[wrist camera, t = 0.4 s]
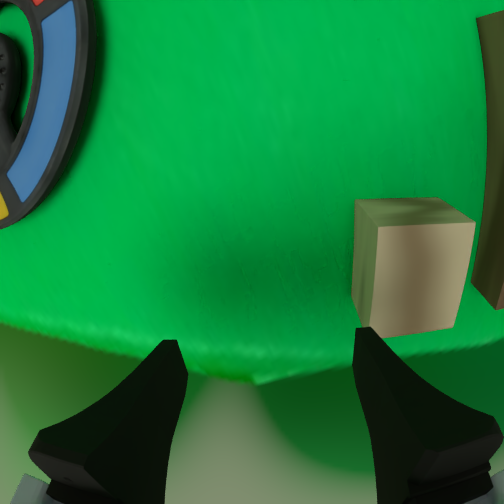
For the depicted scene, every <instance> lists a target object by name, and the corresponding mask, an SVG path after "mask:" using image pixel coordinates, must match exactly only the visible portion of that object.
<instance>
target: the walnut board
mask: <svg viewBox="0 0 504 504" xmlns="http://www.w3.org/2000/svg"><path fill="white" fill-rule="evenodd" d="M476 20H477V26H478V31H479V37H480V43H481V50H482V57H483V65H484V75H485V86H486V101H487V169H486V185H485V196H484V206H483V215H482V223H481V230H480V236H479V243H478V249H477V254H476V260H475V265H474V270H473V274H472V279H471V283H472V284H473V285H474V287H475V288H476V289H477V290H478V291H479V292H480V293H481V294H482V295H483V297H484V298H485V299H486V300H487V301H488V302H489V303H490V305H491V306H492V307H493V308H494V309H495V310H499V309H503V308H504V10H502V11H499V12H495V13H492V14H488V15H485V16H482V17H479V18H476Z"/></svg>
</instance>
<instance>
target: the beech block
mask: <svg viewBox="0 0 504 504" xmlns="http://www.w3.org/2000/svg"><path fill="white" fill-rule="evenodd" d="M475 224H476V222H474V221H473V220H471V219H470V218H468V217H467V216H466V215H464V214H463V213H461V212H460V211H458V210H457V209H455V208H454V207H452V206H450V205H449V204H447V203H446V202H444V201H443V200H441V199H439V198H438V197H433V198H386V199H358V200H355V221H354V255H353V276H352V292H351V297H352V299H353V302H354V305H355V307H356V310H357V313H358V316H359V318H360V321H361V324H362V327H370V326H371V327H372V328H373V329H374V330H375V332H376V333H377V334H378V335H379V336H380V337H381V338H387V337H394V336H402V335H409V334H415V333H422V332H428V331H434V330H440V329H446V328H452V327H453V326H454V322H455V319H456V315H457V311H458V308H459V304H460V300H461V296H462V292H463V288H464V283H465V279H466V274H467V270H468V265H469V260H470V254H471V249H472V243H473V237H474V231H475Z"/></svg>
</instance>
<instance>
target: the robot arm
mask: <svg viewBox="0 0 504 504" xmlns="http://www.w3.org/2000/svg"><path fill="white" fill-rule="evenodd" d="M352 366H353V372H354V378H355V384H356V388H357V392H358V395H359V399H360V402H361V405H362V409H363V412H364V415H365V419H366V422H367V426H368V429H369V433H370V438H371V445H372V451H373V458H374V466H375V476H376V488H377V504H504V470H502V471H500V472H498V473H496V474H495V475H493V476H492V477H490V475H489V473H488V471H490V469H491V466H490V463H489V459H490V458H491V457H492V456H493V455H494V453H495V452H496V451H497V449H498V448H499V447H500V445H501V444H502V442H503V438H504V436H503V434H502V432H501V430H500V427H499V425H498V423H497V422H496V420H495V418H494V417H493V416H491V415H488V414H486V413H483V412H480V411H477V410H475V409H472V408H470V407H468V406H466V405H464V404H462V403H460V402H457V401H456V400H454V399H452V398H450V397H449V396H447V395H446V394H444V393H442V392H441V391H439V390H438V389H436V388H435V387H433V386H432V385H430V384H429V383H428V382H426V381H425V380H424V379H422V378H421V377H420V376H419V375H418V374H416V373H415V372H414V371H413V370H412V369H411V368H410V367H409V366H407V365H406V364H405V363H404V362H403V361H402V360H401V359H400V358H399V357H398V356H397V355H396V354H395V353H394V352H393V351H392V349H391V348H390V347H389V346H388V345H387V344H386V343H385V342H384V341H383V340H382V338H381V337H380V336H379V335H378V334H377V333H376V332H375V330H374V329H373V328H372V327H371V326H370V327H362V328H356V332H355V343H354V353H353V363H352ZM187 380H188V372H187V369H186V366H185V363H184V360H183V357H182V354H181V351H180V348H179V345H178V342H177V340H162V341H161V342H160V343H159V344H158V346H157V347H156V348H155V349H154V350H153V351H152V352H151V353H150V354H149V355H148V356H147V357H146V358H145V359H144V360H143V361H142V362H141V364H140V365H139V366H138V367H137V368H136V369H135V370H134V371H133V372H132V373H131V374H130V375H128V376H127V377H126V378H125V379H124V380H123V381H122V382H121V383H120V384H119V385H118V386H116V387H115V388H114V389H113V390H112V391H110V392H109V393H108V394H107V395H105V396H104V397H103V398H101V399H100V400H99V401H97V402H95V403H94V404H92V405H91V406H89V407H88V408H86V409H85V410H83V411H81V412H80V413H78V414H76V415H74V416H72V417H70V418H68V419H66V420H64V421H62V422H60V423H57V424H55V425H52V426H50V427H47V428H44V429H42V430H40V431H39V433H38V435H37V436H36V438H35V440H34V442H33V444H32V446H31V448H30V449H29V451H28V454H29V457H30V459H31V460H32V461H33V462H34V463H35V464H36V465H37V466H38V467H39V468H40V469H41V470H42V471H43V472H44V473H45V474H46V475H47V476H48V477H49V478H51V479H52V480H51V482H50V484H47V483H46V482H44V481H42V480H40V479H37V478H35V477H33V476H31V475H28V474H24V475H23V477H22V479H21V481H20V483H19V485H18V487H17V490H16V492H15V494H14V496H13V498H12V501H11V503H10V504H164V503H165V488H166V477H167V467H168V460H169V455H170V448H171V443H172V439H173V435H174V432H175V428H176V425H177V422H178V418H179V414H180V411H181V408H182V404H183V401H184V397H185V393H186V387H187Z"/></svg>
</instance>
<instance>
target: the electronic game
mask: <svg viewBox="0 0 504 504" xmlns="http://www.w3.org/2000/svg"><path fill="white" fill-rule="evenodd" d="M7 2H8V3H13V4H15V5H16V6H18V7H19V8H20V9H21V10H22V11H23V12H24V14H25V15H26V17H27V19H28V21H29V22H28V23H29V25H30V28H31V32H32V36H33V45H34V70H33V79H32V86H31V93H30V98H29V101H28V105H27V109H26V113H25V116H24V119H23V122H22V125H21V128H20V130H19V132H18V135H17V133H16V131H15V129H14V127H13V125H12V122H11V118H10V116H11V114H12V112H13V110H14V107H15V105H16V101H17V98H18V95H19V91H20V85H21V69H22V68H21V61H20V55H19V51H18V49H17V47H16V45H15V44H14V42H13V41H12V40H11V39H10V38H9V37H8V36H7V35H5V34H3V33H0V229H3V228H6V227H8V226H10V225H12V224H14V223H16V222H18V221H20V220H21V219H23V218H24V217H26V216H27V215H28V214H30V213H31V212H32V211H33V210H34V209H35V208H37V207H38V206H39V205H40V204H41V202H42V201H43V200H44V199H45V198H46V197H47V196H48V194H49V193H50V192H51V190H52V189H53V187H54V186H55V184H56V183H57V181H58V180H59V178H60V176H61V175H62V173H63V171H64V169H65V167H66V165H67V164H68V161H69V159H70V157H71V155H72V152H73V150H74V148H75V145H76V143H77V140H78V138H79V135H80V132H81V129H82V126H83V122H84V119H85V116H86V112H87V108H88V104H89V99H90V95H91V91H92V84H93V78H94V72H95V63H96V50H97V48H96V42H97V33H96V18H95V11H94V5H93V0H0V4H1V3H7Z"/></svg>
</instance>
